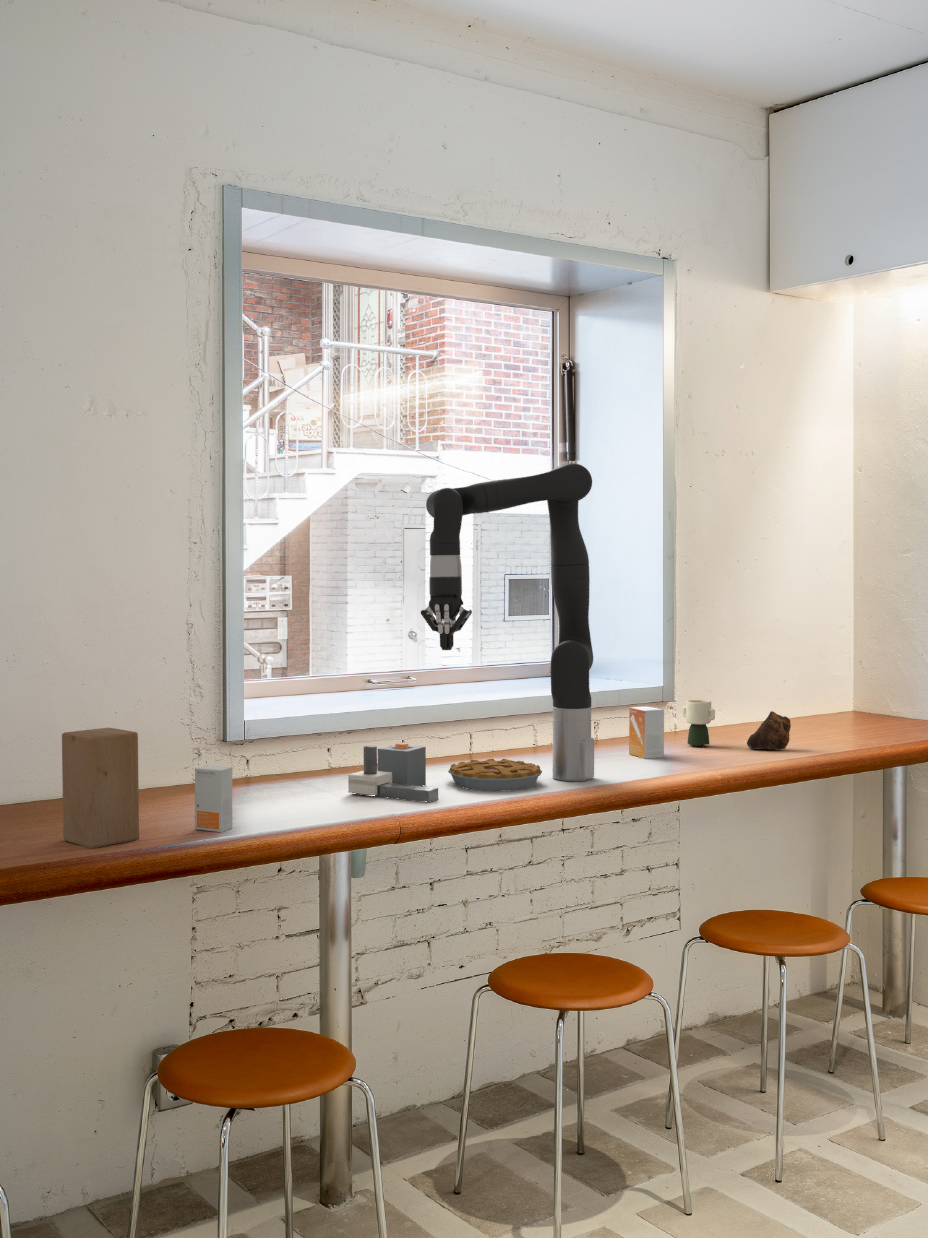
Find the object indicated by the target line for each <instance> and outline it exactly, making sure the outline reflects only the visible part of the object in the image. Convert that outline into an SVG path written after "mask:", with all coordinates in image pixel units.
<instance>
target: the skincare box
mask: <svg viewBox="0 0 928 1238" xmlns="http://www.w3.org/2000/svg"><path fill="white" fill-rule="evenodd" d="M231 829H233V766H225V765H209V764H208V765H201V766H197V767H195V768H194V830H198V831H199V830H200V831H206V832H207V831H208V832H216V833H223V832H225V831H228V830H231Z"/></svg>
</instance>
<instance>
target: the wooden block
mask: <svg viewBox="0 0 928 1238" xmlns="http://www.w3.org/2000/svg"><path fill="white" fill-rule="evenodd" d="M138 733H139V732H137V731H131V730H127V729H126V730H125V729H120V728H113V727H102V728H93V729H85V730H74V731H65V732H62V734H61V757H62V758H61V765H62V769H61V772H62V777H61V779H62V830H63V831H62V834H63V835H62V836H63V837H62V838H63V841H66V842H69V843H72V844H75V845H79V846H81V847H86V848H88V849H97V848H101V847H108V846H111V845H116V844H117V845H118V844H122V843H129V842H131V841H137V840H139V839H140V808H139V807H140V804H139V801H140V799H139V797H140V795H139V734H138Z"/></svg>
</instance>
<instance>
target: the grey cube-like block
mask: <svg viewBox="0 0 928 1238" xmlns="http://www.w3.org/2000/svg"><path fill="white" fill-rule="evenodd" d="M426 749H427V747H426V746H423V745H421V746H420V745H411V744H410V745H409V744H408V749H405V750H404V749H395V744H393V745H392V744H391V745H388V746H384V747H379V748H377V771H383V772H392V783H395V784H405V785H415V786H423V785H425V786H426V784H427V782H426V781H427V778H426V777H427V775H426V774H427V773H426V772H427V771H426V770H427V766H426V765H427V761H426V756H427V753H426Z"/></svg>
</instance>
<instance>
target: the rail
mask: <svg viewBox="0 0 928 1238" xmlns="http://www.w3.org/2000/svg"><path fill="white" fill-rule="evenodd" d="M357 794H358V793H356V794H355V795H357ZM366 795H367V794H362V795H361V796H366ZM375 796H379V797H378V798H384V797H388V798H387V799H392V798H399V799H398V800H401V799H406V800H405V801H410V800H415V801H414V802H419V801H427V802H426V803H428V802H429V803H431V802H430V801H432V802H434V801H433V800H435V801H437V799H438V800H439V787H432V786H415V785H405V784H395V783H384V784H381V785H378V786H377V795H375ZM375 796H374V797H375Z"/></svg>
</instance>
